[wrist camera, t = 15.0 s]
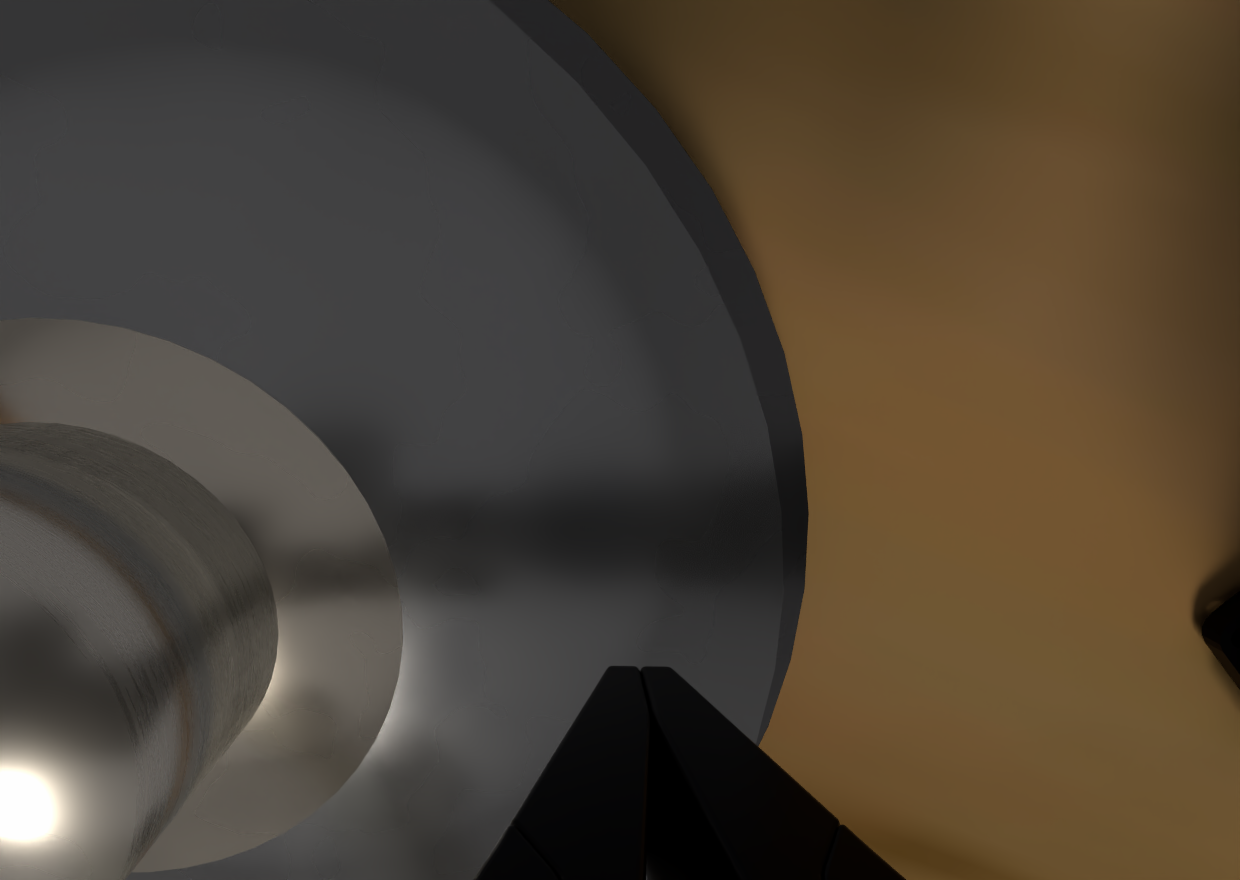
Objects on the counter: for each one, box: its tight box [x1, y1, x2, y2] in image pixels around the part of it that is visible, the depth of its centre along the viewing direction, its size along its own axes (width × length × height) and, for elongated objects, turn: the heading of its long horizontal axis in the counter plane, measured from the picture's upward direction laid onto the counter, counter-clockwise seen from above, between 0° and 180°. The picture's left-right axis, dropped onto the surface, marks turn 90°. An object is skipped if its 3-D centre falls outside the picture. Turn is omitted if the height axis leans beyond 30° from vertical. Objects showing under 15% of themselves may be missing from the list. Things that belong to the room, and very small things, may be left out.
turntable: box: [0, 0, 784, 880], centre depth 8 cm, size 21×21×5 cm
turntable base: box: [489, 0, 808, 746], centre depth 12 cm, size 23×23×1 cm
